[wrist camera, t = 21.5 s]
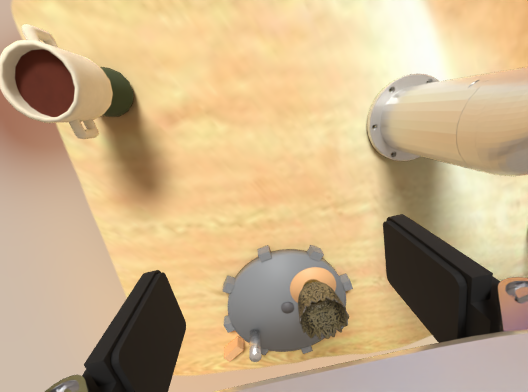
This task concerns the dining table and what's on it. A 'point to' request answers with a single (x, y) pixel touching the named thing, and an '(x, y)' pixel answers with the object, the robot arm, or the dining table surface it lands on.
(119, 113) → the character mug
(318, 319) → the cup
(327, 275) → the index wheel
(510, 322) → the robot arm
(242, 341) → the peach rectangular brick
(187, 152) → the dining table surface
